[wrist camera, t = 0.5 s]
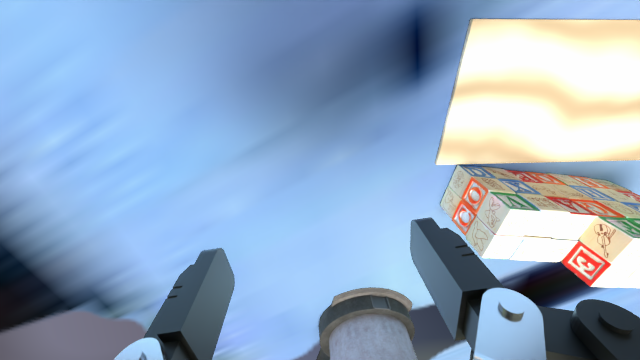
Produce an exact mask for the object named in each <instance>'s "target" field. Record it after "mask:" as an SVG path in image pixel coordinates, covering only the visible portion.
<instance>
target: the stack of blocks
mask: <svg viewBox="0 0 640 360" xmlns="http://www.w3.org/2000/svg"><path fill="white" fill-rule="evenodd" d="M440 206H441V207H442V208H443V210H444V211H445V212H446V213H447V214H448V215H449V217H450V218H451V219H452V221H453V222H454V223H455V224H456V226H457V227H458V228H459V229H460V230H461V232H462V233H463V234H464V235H465V236H466V239H467V240H468V241H469V243H470V244H471V245H472V246H473V248H474V249H475V250H476V251H477V252H478V254H479V255H480V256H481V257H482V258H495V259H510V260H525V261H543V262H559V261H561V262H562V263H563V264H564V265H565V266H566V267H567V268H568V269H570V270H571V271H572V272H573V273H575V274H576V275H577V276H578V277H579V278H580V279H582V280H583V281H584V282H585V283H586V284H588V285H589V286H591V287H623V288H640V196H639V195H637V194H635V193H632V191H630V190H628V189H626V188H623V187H621V186H619V185H616V184H614V183H611V182H609V181H607V180H599V179H591V178H587V177H578V176H569V175H562V174H552V173H546V174H543V173H534V172H521V171H511V170H504V169H500V168H491V167H479V166H471V165H461V164H458V165H457V167H456V169H455V171H454V173H453V176H452V178H451V180H450V183H449V186H448V187H447V189H446V191H445V194H444V196H443V198H442V201H441V203H440Z"/></svg>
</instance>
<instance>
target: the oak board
mask: <svg viewBox="0 0 640 360" xmlns="http://www.w3.org/2000/svg"><path fill="white" fill-rule="evenodd" d="M620 160H640V20H546V19H470V23H469V27H468V31H467V35H466V39H465V43H464V47H463V51H462V55H461V59H460V63H459V67H458V71H457V76H456V80H455V84H454V88H453V92H452V96H451V100H450V104H449V108H448V112H447V116H446V120H445V124H444V128H443V132H442V137H441V141H440V145H439V149H438V153H437V157H436V161H435V164H436V165H450V164H492V163H535V162H577V161H620Z"/></svg>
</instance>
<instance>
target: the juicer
mask: <svg viewBox="0 0 640 360" xmlns="http://www.w3.org/2000/svg"><path fill="white" fill-rule="evenodd" d="M411 307H412V302H411V301H410V300H409V299H408V298H407V297H405V296H404V295H402V294H400V293H398V292H396V291H393V290H389V289H384V288H360V289H355V290H351V291H347V292H344V293H341V294H339V295H337V296H335V297H334V299H333V301H332V304H331V305H330V306H329V307H328V308H327V309H326V310H325V311H324V313H323V314H322V316H321V318H320V321H319V336H320V345H321V348H320V351H319V354H318V356H317V359H316V360H417V357H416V354H415V351H414V349H413V346H412V343H411V341H412V339H413V336H414V333H415V332H414V331H415V330H414V325H413V323H412V320H411V318H410V315H409V311H410V310H411Z"/></svg>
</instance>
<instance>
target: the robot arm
mask: <svg viewBox="0 0 640 360" xmlns="http://www.w3.org/2000/svg"><path fill="white" fill-rule="evenodd" d="M410 250H411V256H412V259H413V262H414V264H415V266H416V268H417V270H418V272H419V274H420V276H421V278H422V279H423V281H424V283H425V285H426V287H427V289H428V291H429V293H430V295H431V296H432V298H433V300H434V302H435V304H436V306H437V308H438V309H439V312H440V314H441V315H442V317H443V319H444V321H445V323H446V325H447V327H448V328H449V331H450V332H451V334H452V336H453V338H454V340H455V341H456V340H463V339H466V340H467V342H468V343H469V345H470V347H471V353H470V360H640V318H639V317H638V316H636V315H634V314H633V313H631V312H629V311H628V310H626V309H624V308H622V307H620V306H617V305H615V304H612V303H609V302H605V301H601V300H594V299H588V300H583V301H581V302H579V303H578V304H577V306H576V308H575V310H574V311H569V310H562V309H555V308H548V307H541V306H537V305H535V304H534V303H533V302H532V301H531V300H529V299H528V298H527V297H525V296H524V295H522V294H520V293H518V292H516V291H513V290H510V289H505V288H504V287H503V285H502V284H501V283H500V282H499V281H498V280H497V278H496V277H495V276H494V275H493V274H492V273H491V272H490V270H489V269H488V268H487V267H486V266H485V265H484V263H483V262H482V261H481V260H480V259H479V258H478V257H477V255H475V254H474V252H473V251H472V250H471V248H470V247H468V246H467V244H466V243H465V242H464V240H463V239H462V238H461V237H460V236H459V235H458V234H456V233H455V232H453V231H451V230H450V229H448V228H442V229H440V227H439V226H438V225H437V224H436V222H435V221H434V220H433V219H432V218H423V219H417V220H412V221H411V243H410ZM234 283H235V282H234V274H233V272H232V269H231V267H230V264H229V262H228V259H227V257H226V254H225V252H224V250H223V249H222V248H217V249H211V250H204V251H202V252H201V253H200V255H199V257H198V258H197V260H196V262H195V264H194V265H190V266H189V267H188V268H187V269H186V270H185V271H184V272H183V273H182V274H181V275H180V276H179V278H178V279H177V281H176V283H175V284H174V286H173V289H172V290H171V291H170V293H169V295H168V298H167V299H166V300H165V302H164V303H163V305H162V307H161V309H160V310H159V312H158V314H157V315H156V317H155V319H154V321H153V322H152V324H151V326H150V328H149V329H148V331H147V333H146V334H145V336H144V338H143V339H140V340H138V341H136V342H134V343H132V344H131V345H129V346H128V347H126V348H125V349H124V350H123V351H122V352H121V353H120V354H118V356H117V357H116V358H115V359H114V360H212V357H213V354H214V351H215V348H216V344H217V341H218V338H219V335H220V332H221V328H222V325H223V322H224V319H225V316H226V312H227V309H228V306H229V303H230V299H231V296H232V293H233V290H234Z"/></svg>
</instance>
